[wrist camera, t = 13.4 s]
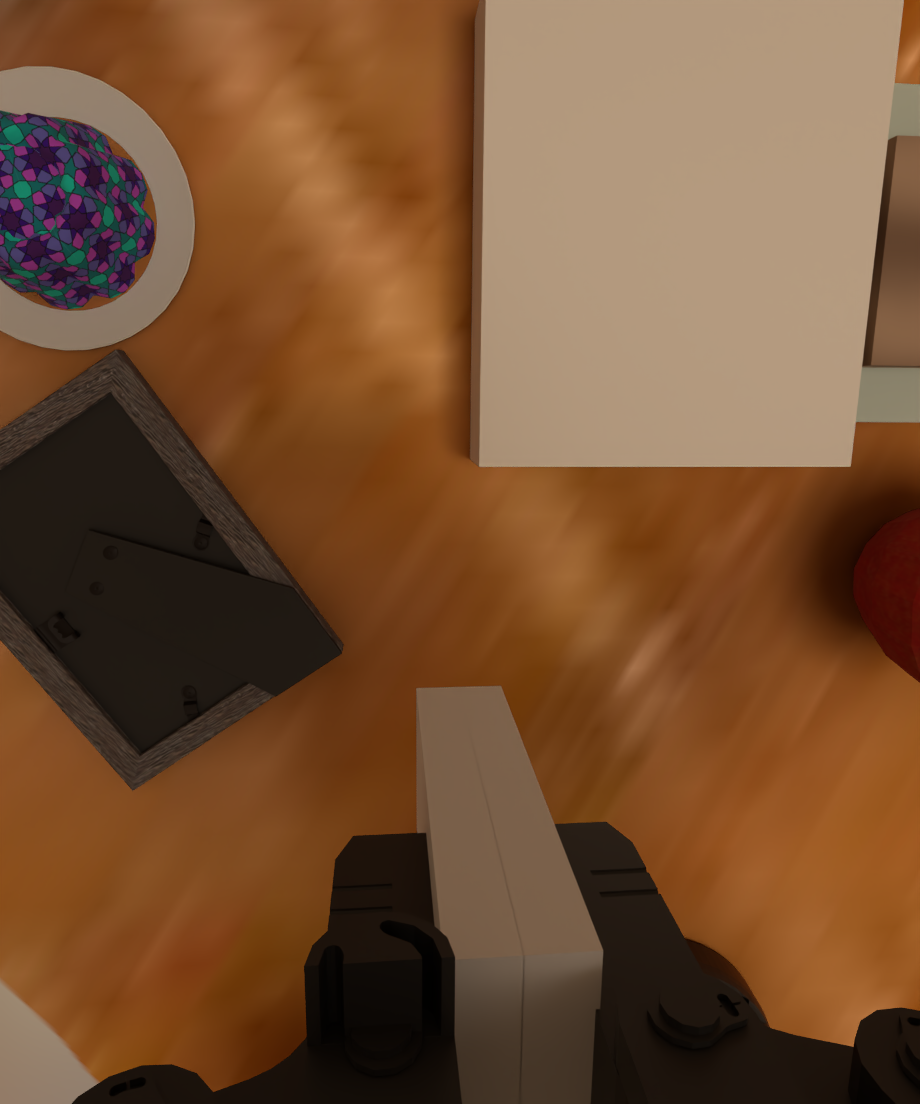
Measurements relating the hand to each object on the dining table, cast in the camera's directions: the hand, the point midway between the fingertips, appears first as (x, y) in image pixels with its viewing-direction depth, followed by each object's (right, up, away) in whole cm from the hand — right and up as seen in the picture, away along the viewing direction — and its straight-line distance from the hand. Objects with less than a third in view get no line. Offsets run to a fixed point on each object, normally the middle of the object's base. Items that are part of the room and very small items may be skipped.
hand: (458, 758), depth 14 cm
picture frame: (-17, +3, +26) cm, 31 cm away
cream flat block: (+10, +18, +24) cm, 32 cm away
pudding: (-18, +19, +22) cm, 34 cm away
